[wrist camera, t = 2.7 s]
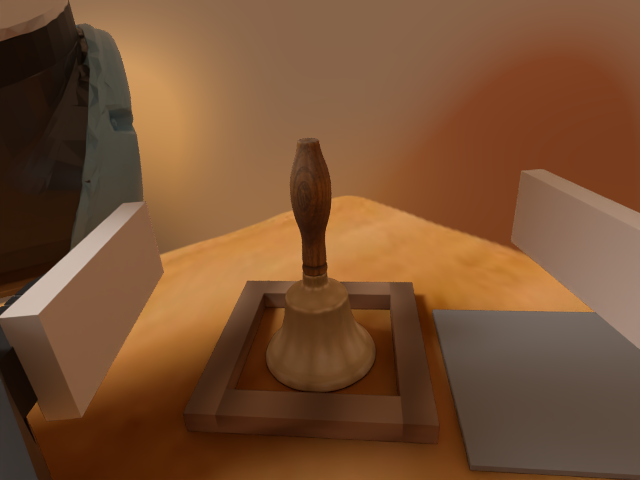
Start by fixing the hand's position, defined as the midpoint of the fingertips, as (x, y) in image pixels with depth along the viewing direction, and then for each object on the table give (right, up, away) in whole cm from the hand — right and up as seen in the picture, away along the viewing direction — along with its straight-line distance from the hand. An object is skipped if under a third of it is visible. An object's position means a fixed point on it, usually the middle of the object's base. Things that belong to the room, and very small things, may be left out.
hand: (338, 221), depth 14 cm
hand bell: (-1, -9, +17) cm, 19 cm away
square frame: (-1, -9, +17) cm, 19 cm away
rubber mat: (+15, -10, +13) cm, 22 cm away
